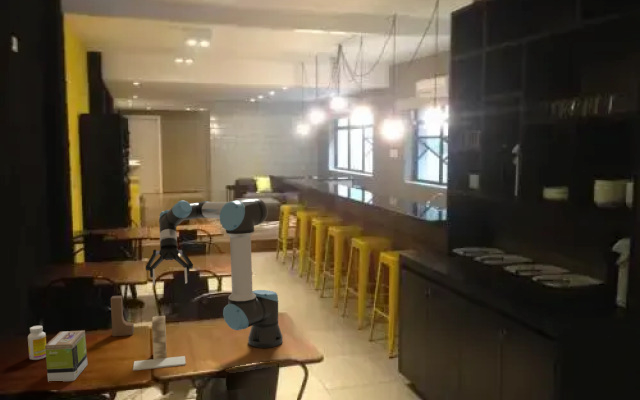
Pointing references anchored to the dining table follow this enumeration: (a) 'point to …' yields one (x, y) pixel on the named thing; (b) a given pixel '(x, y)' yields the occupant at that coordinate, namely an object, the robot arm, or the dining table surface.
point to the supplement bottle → (36, 343)
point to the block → (159, 337)
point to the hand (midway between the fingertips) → (170, 282)
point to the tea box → (66, 356)
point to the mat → (159, 363)
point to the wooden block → (119, 318)
